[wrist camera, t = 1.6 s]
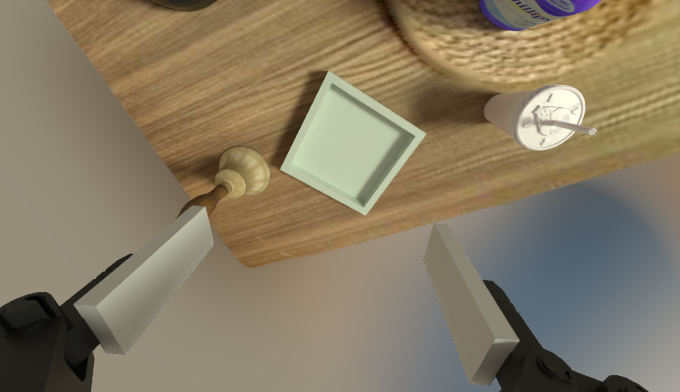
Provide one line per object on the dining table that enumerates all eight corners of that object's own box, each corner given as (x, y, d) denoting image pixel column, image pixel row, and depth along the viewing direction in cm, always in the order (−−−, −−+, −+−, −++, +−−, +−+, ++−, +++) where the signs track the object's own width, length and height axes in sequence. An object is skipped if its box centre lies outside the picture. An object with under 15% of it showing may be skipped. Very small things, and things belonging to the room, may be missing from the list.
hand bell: (211, 176, 39) (130, 232, 25) (232, 135, 36) (153, 173, 22) (256, 203, 41) (204, 270, 27) (279, 166, 38) (235, 220, 24)
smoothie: (497, 140, 35) (579, 177, 22) (463, 117, 33) (529, 141, 21) (534, 99, 32) (651, 114, 19) (498, 72, 31) (598, 69, 18)
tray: (284, 164, 38) (280, 169, 36) (330, 71, 32) (328, 70, 29) (364, 207, 41) (365, 215, 38) (421, 130, 34) (426, 133, 32)
